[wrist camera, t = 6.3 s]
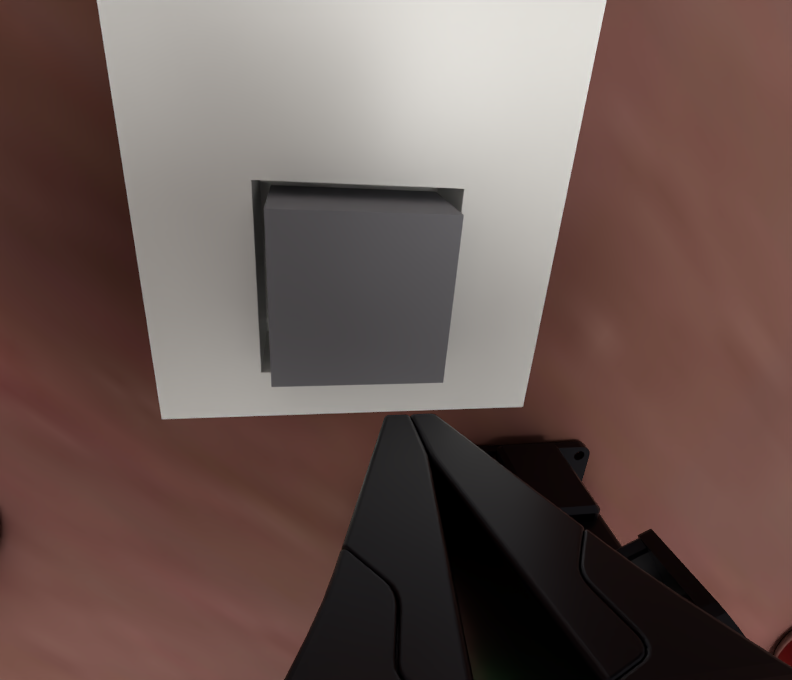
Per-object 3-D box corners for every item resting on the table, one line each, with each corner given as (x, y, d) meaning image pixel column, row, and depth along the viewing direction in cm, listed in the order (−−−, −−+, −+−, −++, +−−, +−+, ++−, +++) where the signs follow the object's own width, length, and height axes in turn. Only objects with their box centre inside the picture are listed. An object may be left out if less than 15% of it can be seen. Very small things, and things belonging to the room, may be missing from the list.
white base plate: (491, 359, 22) (522, 406, 18) (184, 365, 19) (161, 419, 16) (632, -489, 12) (747, -689, 9) (55, -656, 10) (-58, -994, 7)
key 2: (421, 336, 18) (443, 382, 16) (276, 337, 18) (271, 387, 15) (435, 191, 16) (464, 215, 13) (270, 184, 15) (263, 208, 13)
